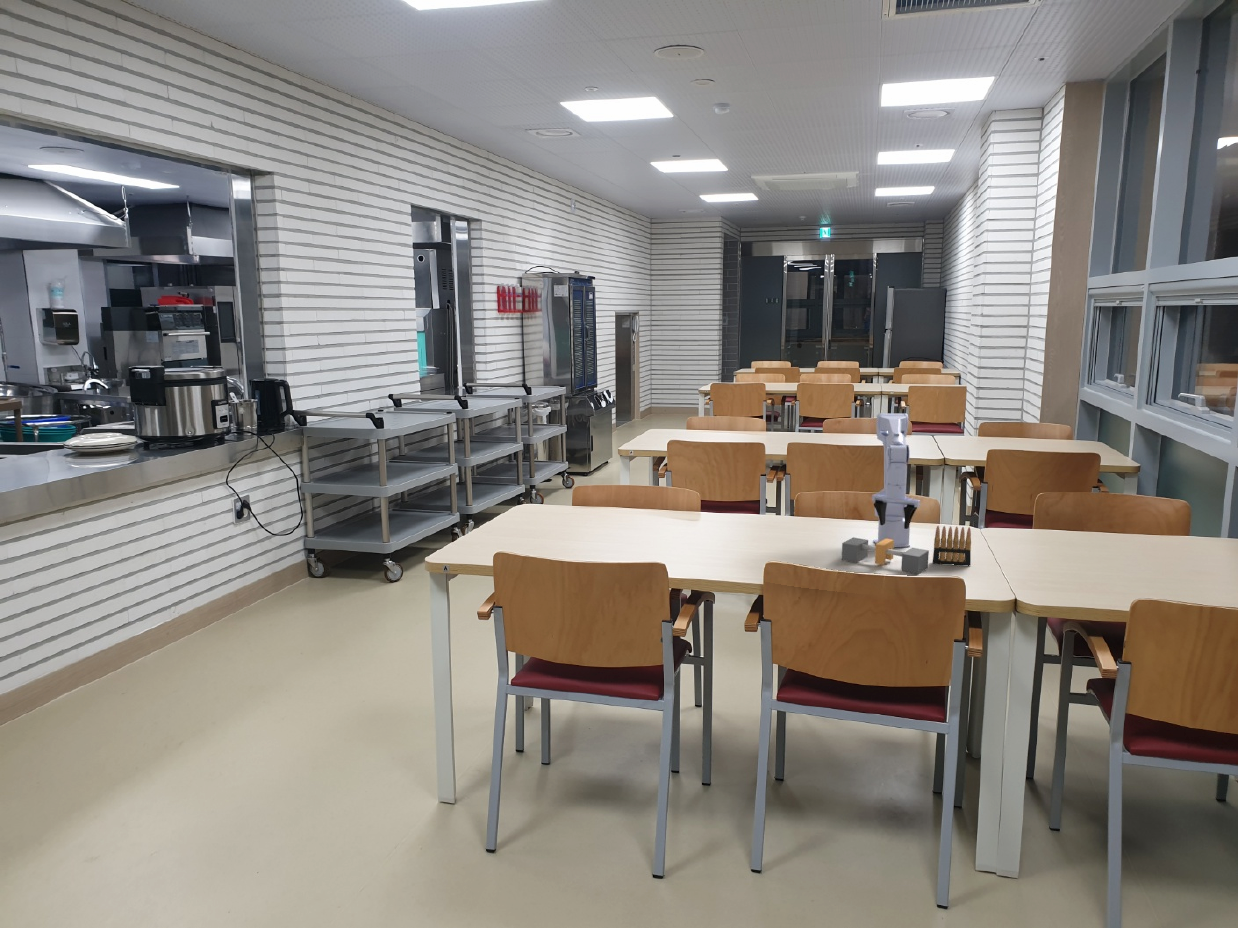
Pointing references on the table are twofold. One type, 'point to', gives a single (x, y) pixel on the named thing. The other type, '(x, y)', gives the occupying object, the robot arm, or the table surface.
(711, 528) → the table surface
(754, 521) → the table surface
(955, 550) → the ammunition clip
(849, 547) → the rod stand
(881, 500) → the robot arm
